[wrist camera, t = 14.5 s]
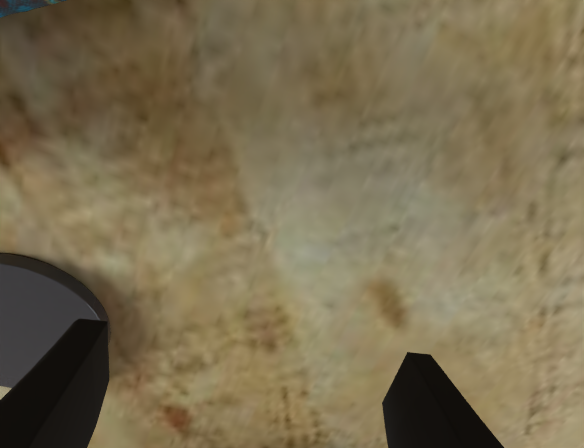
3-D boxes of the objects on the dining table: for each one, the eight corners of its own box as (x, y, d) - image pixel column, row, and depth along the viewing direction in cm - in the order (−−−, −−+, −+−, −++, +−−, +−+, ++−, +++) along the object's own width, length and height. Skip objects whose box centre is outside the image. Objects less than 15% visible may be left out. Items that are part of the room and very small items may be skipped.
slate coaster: (-57, 370, 24) (-66, 382, 24) (-99, 239, 20) (-111, 250, 19) (111, 385, 26) (107, 396, 25) (110, 266, 21) (105, 276, 20)
